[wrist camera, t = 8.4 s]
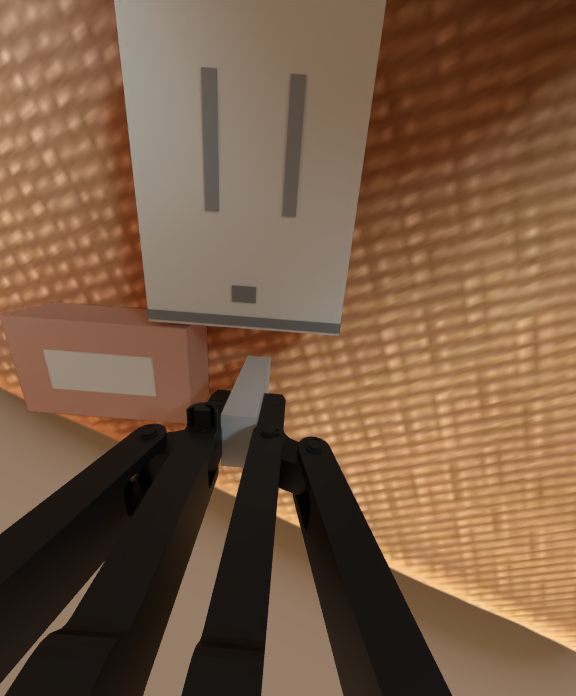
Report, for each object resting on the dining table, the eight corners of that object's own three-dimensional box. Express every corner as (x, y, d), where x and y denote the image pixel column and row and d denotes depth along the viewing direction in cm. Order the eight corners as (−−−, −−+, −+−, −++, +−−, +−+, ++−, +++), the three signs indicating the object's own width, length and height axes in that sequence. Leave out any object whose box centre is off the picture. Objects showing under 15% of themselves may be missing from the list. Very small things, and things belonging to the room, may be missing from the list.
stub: (53, 302, 18) (-3, 315, 15) (206, 313, 18) (185, 329, 15) (72, 384, 20) (26, 411, 17) (209, 394, 20) (191, 425, 17)
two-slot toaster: (157, 40, 13) (109, -30, 10) (365, 55, 13) (388, -10, 10) (176, 307, 18) (148, 321, 14) (331, 319, 18) (338, 336, 14)
